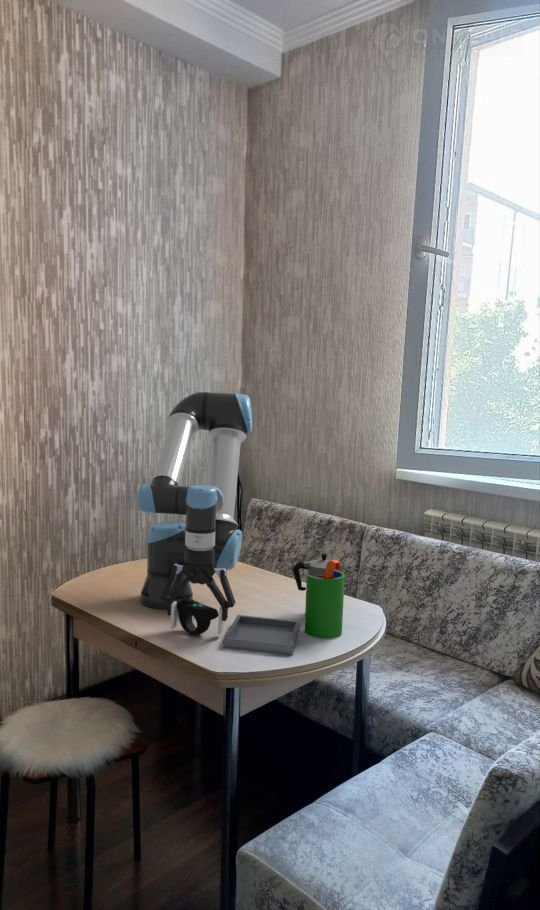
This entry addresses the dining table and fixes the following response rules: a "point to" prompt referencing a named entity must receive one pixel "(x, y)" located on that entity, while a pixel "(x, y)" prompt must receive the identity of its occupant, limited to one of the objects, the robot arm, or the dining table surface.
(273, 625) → the tray
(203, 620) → the controller
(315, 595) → the green cylindrical container
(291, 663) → the dining table surface
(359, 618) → the dining table surface
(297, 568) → the coffeepot
